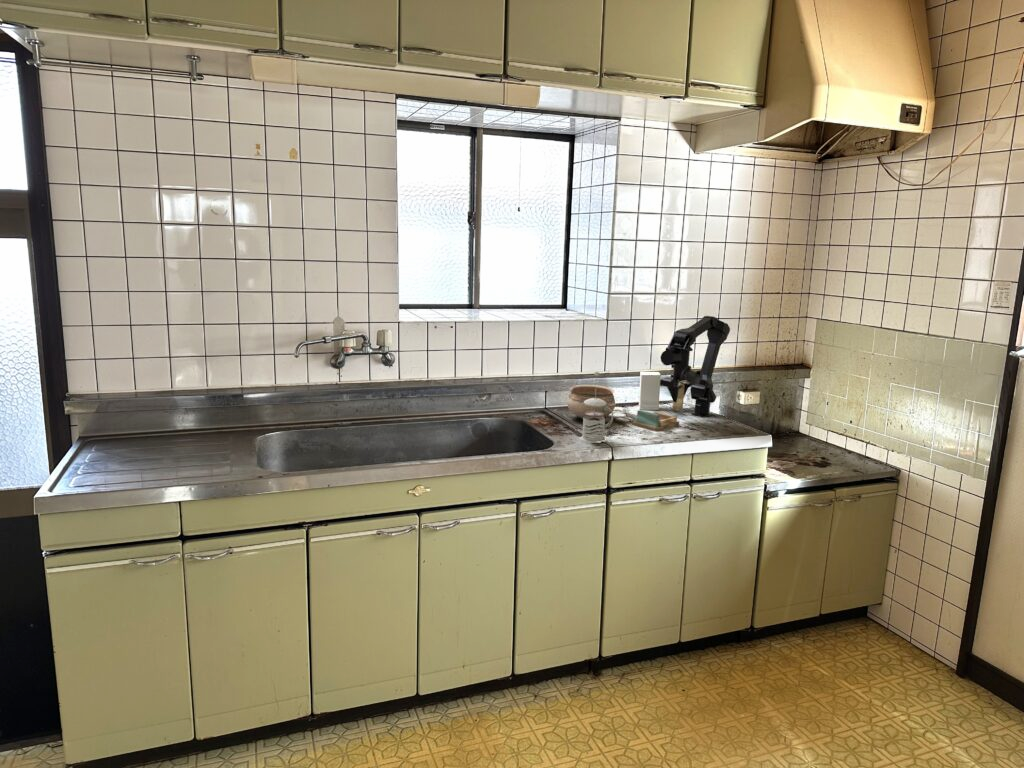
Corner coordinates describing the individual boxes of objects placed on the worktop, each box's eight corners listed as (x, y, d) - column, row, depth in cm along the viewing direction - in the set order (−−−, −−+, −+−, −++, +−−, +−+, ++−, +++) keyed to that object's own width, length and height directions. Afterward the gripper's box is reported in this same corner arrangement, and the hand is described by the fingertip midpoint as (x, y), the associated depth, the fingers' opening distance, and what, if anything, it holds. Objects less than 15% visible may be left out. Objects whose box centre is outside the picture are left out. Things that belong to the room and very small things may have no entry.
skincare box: (657, 407, 307) (660, 371, 303) (658, 411, 300) (661, 374, 297) (637, 406, 308) (640, 370, 304) (638, 409, 301) (641, 373, 298)
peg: (676, 407, 286) (678, 382, 284) (684, 409, 283) (686, 384, 281) (670, 408, 283) (672, 384, 281) (678, 410, 280) (680, 385, 278)
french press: (577, 435, 260) (580, 368, 255) (608, 436, 261) (612, 369, 256) (581, 443, 251) (585, 374, 245) (614, 443, 251) (618, 374, 246)
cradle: (656, 418, 287) (657, 405, 286) (679, 424, 279) (680, 410, 278) (632, 424, 277) (633, 410, 276) (655, 431, 269) (656, 416, 268)
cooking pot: (551, 416, 287) (552, 386, 284) (584, 409, 299) (585, 381, 296) (596, 430, 268) (598, 398, 266) (629, 422, 280) (632, 392, 277)
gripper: (685, 368, 267) (681, 408, 270) (712, 363, 280) (708, 402, 283) (660, 364, 275) (657, 403, 278) (688, 359, 288) (684, 396, 291)
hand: (678, 401), depth 282 cm, fingers closed on peg, 4 cm apart
